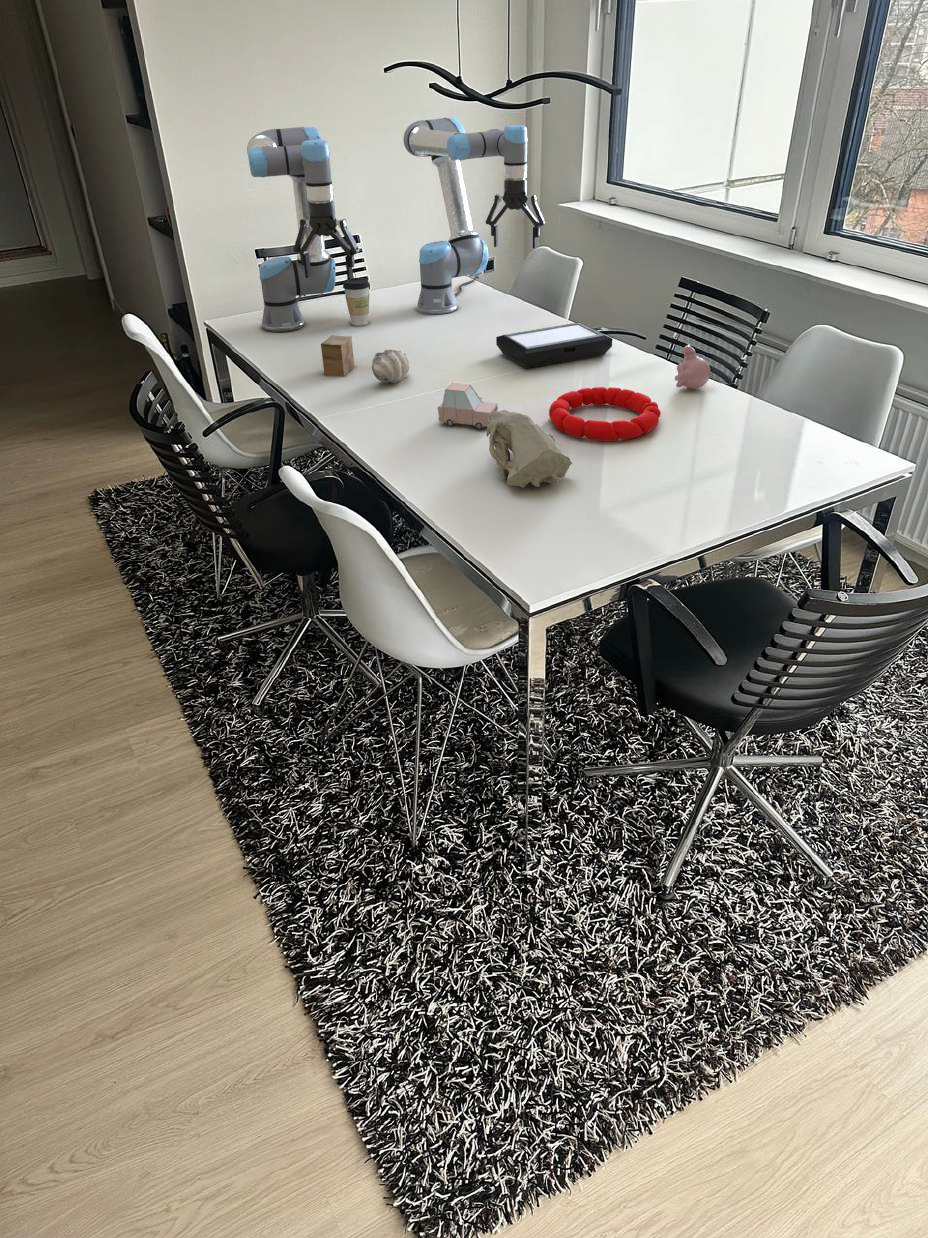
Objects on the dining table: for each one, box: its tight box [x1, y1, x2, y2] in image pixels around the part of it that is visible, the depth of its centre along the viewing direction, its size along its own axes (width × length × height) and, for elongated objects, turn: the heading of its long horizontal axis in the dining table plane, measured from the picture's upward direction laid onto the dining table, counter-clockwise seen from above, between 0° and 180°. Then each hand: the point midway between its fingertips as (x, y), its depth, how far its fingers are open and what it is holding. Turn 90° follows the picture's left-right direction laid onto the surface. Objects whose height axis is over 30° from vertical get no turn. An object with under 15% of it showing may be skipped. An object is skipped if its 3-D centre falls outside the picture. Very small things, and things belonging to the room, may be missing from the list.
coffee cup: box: [342, 277, 371, 327], centre depth 323 cm, size 10×10×15 cm
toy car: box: [437, 382, 499, 431], centre depth 243 cm, size 9×15×10 cm, turn 70°
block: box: [320, 334, 355, 377], centre depth 282 cm, size 9×7×10 cm
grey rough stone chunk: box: [485, 409, 573, 489], centre depth 216 cm, size 17×25×20 cm
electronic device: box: [495, 322, 613, 370], centre depth 290 cm, size 32×6×20 cm
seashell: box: [371, 349, 411, 384], centre depth 271 cm, size 10×15×10 cm
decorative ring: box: [548, 386, 661, 442], centre depth 242 cm, size 7×30×30 cm
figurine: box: [674, 344, 711, 390], centre depth 259 cm, size 9×11×12 cm
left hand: (329, 277), depth 268 cm, fingers open, 13 cm apart
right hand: (515, 246), depth 306 cm, fingers open, 13 cm apart
